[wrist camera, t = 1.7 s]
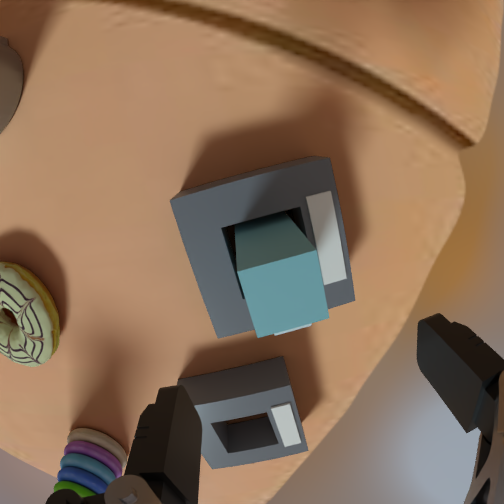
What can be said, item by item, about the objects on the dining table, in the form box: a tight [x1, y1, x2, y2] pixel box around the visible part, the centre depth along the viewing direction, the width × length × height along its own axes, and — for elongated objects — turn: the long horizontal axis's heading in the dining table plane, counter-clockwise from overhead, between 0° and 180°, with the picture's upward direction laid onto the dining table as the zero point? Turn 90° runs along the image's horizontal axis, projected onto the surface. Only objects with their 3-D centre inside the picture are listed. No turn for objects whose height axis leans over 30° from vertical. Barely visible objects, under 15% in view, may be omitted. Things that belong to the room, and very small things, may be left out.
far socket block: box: [177, 356, 308, 469], centre depth 27 cm, size 10×10×4 cm
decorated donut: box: [0, 261, 60, 367], centre depth 23 cm, size 10×11×4 cm
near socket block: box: [170, 156, 355, 338], centre depth 22 cm, size 10×10×4 cm
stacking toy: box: [54, 428, 127, 497], centre depth 22 cm, size 8×8×19 cm
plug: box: [235, 211, 329, 338], centre depth 19 cm, size 4×4×10 cm
